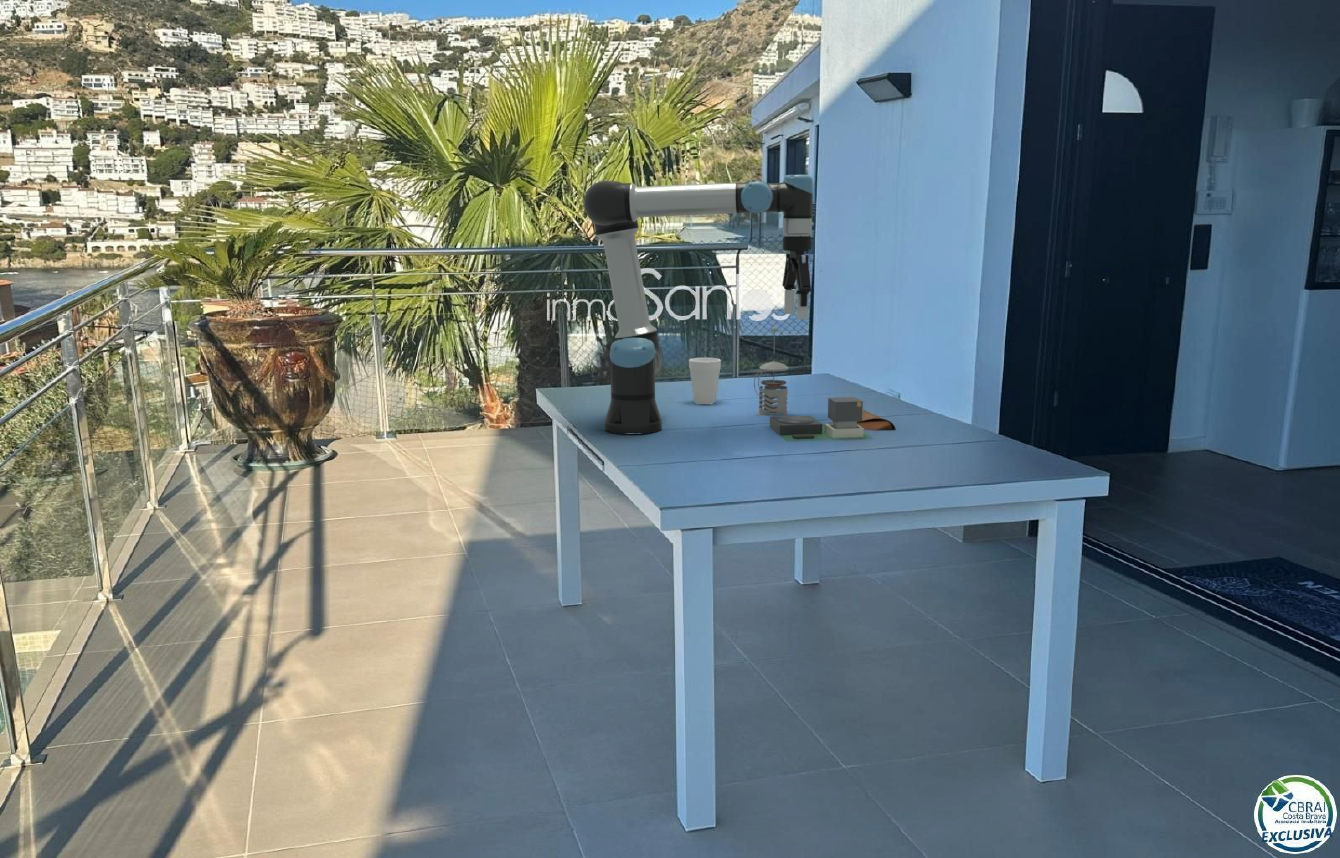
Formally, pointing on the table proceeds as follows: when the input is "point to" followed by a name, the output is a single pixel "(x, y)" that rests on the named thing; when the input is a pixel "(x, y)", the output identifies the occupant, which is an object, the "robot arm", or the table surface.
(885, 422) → the sunglasses case
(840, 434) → the frame
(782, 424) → the fan
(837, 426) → the plug
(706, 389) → the foam cup
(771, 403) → the french press
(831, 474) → the table surface
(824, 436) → the board
